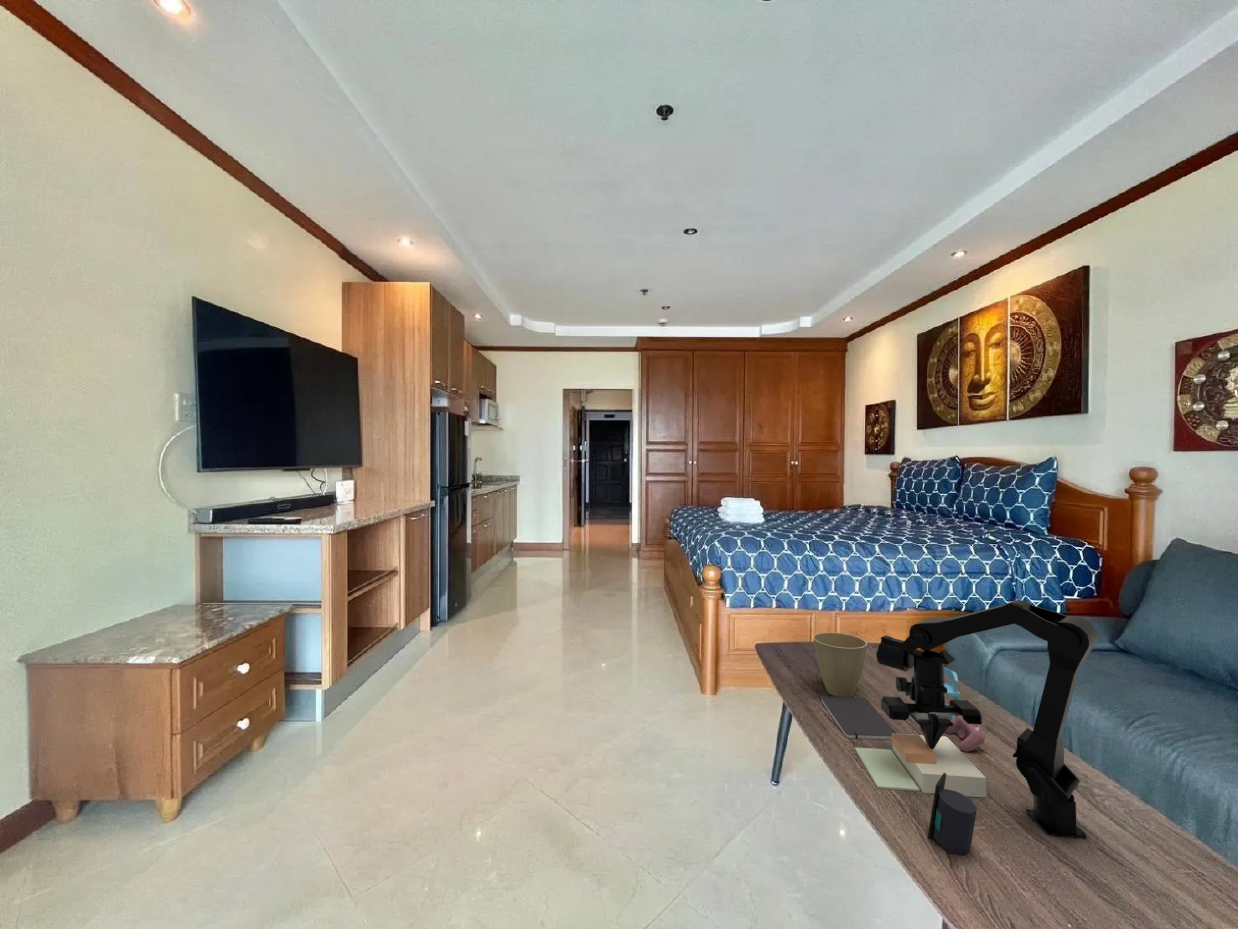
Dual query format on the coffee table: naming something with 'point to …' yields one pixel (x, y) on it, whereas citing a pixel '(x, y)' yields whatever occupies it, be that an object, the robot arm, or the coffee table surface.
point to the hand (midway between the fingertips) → (930, 748)
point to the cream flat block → (947, 771)
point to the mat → (886, 769)
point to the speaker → (952, 819)
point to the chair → (951, 686)
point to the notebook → (857, 718)
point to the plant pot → (840, 661)
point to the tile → (913, 749)
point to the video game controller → (967, 733)
